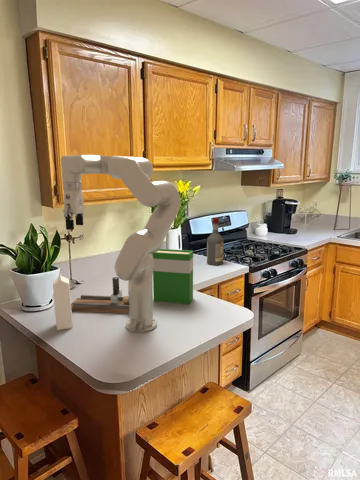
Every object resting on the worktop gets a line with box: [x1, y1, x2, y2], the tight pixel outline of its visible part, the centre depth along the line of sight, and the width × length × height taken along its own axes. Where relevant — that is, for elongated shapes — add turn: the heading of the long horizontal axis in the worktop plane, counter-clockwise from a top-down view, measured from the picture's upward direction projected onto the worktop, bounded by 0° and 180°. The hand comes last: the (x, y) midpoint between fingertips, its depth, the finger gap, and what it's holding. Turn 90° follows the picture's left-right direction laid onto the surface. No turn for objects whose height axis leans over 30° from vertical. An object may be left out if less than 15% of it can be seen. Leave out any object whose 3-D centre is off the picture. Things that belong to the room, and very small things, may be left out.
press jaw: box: [110, 276, 123, 305], centre depth 161 cm, size 7×3×12 cm, turn 173°
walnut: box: [122, 295, 129, 305], centre depth 161 cm, size 4×4×4 cm
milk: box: [52, 273, 73, 331], centre depth 143 cm, size 6×6×22 cm
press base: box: [71, 294, 129, 314], centre depth 162 cm, size 10×32×8 cm, turn 83°
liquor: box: [206, 217, 225, 267], centre depth 229 cm, size 9×9×30 cm
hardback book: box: [152, 248, 194, 305], centre depth 170 cm, size 18×7×24 cm, turn 76°
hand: (75, 227), depth 150 cm, fingers open, 9 cm apart
